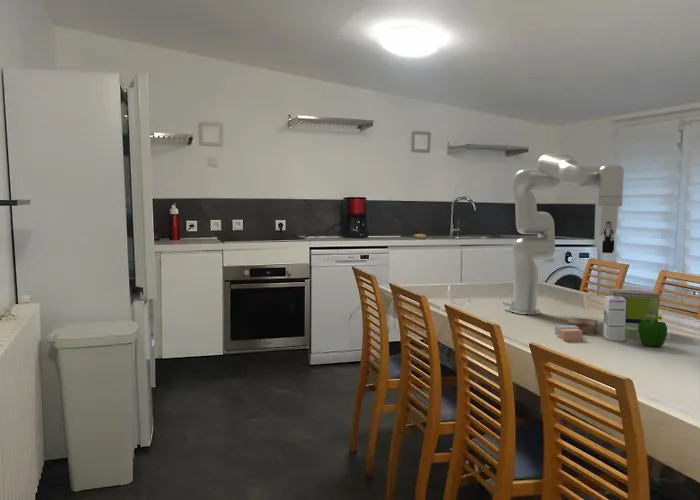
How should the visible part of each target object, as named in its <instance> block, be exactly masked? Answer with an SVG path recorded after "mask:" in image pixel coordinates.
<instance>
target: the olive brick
mask: <svg viewBox="0 0 700 500" xmlns="http://www.w3.org/2000/svg"><path fill="white" fill-rule="evenodd" d="M625 339H628V340H639V331H638V329H636V328H634V327H631V326H629V325H625Z"/></svg>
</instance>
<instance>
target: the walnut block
mask: <svg viewBox="0 0 700 500" xmlns="http://www.w3.org/2000/svg"><path fill="white" fill-rule="evenodd" d="M566 325H575V326H577V327H579V330H582V331H583V333H582V335H589V334H591V336H594V335H595V334H596V332H597V331H598V320H597V319H590V318H589V319H588V318H582V317H581V318H580V317H570V318H569V319H568V320H567V324H566Z"/></svg>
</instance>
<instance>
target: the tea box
mask: <svg viewBox="0 0 700 500" xmlns="http://www.w3.org/2000/svg"><path fill="white" fill-rule="evenodd" d="M609 296H620V297H623V298H625V299H626V320H625V325H629V326H631V327H634V328H636V329H638V325H639V323H640V321H642V320H647V321H651V320H652V319H653V317H656V316H659V310H660V309H659V303H660V300H659V299H660V294H659V293H657V292H656V291H655V290H651V289H649V290H647V289H629V288H627V289H626V288H610V291H609ZM655 322H659V319H656V320H655Z"/></svg>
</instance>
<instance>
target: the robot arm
mask: <svg viewBox="0 0 700 500" xmlns="http://www.w3.org/2000/svg"><path fill="white" fill-rule="evenodd" d="M536 164H537V168H524V169H521V170H519V171H517V172H516V173H515V175H514V176H513V178H512V179H513V180H512V191H513V192H512V193H513V197H514V202H515V205H514V206H515V227H516V231H517V232H518V233H519V234H521V235H537V237H534V236H533V237H532V236H531V237H530V236H529V237H520V238H518V239H516V240H515V241H514V243H513V245H512V255H513V261H514V268H513V269H514V271H513V273H514V276H513V297H512V300H510V301H508V300H503V301H502V305H503V306H505V307H509V308H508V311H509V312H510V311H511V312H510V313H512V312H514V313H513V314H517V313H518V314H517V315H525V314H528V316H530V315H539V314H541V310H540V309H539V308H537V305H538V304H537V303H538V278H539V277H538V276H539V271H538V270H539V269H538V266H537V265H536V263H535V261H546V260H550V259H551V258H553V256H554V255H555V251H556V249H555V248H556V241H555V240H556V237H555V235H556V234H555V231H556V229H555V221H554V218H553V215H551V213H549V212H546V211H538V207H537V206H538V205H537V202H538V201H537V199H536V197H535V195H534V192H532V190H536V191H539V190H541V191H549V190H551V191H552V190H554V189H556V188H557V187H558V186H559V185H561V184H562V183H563V184H566V185H568V186H572V187H575V188H587V189H588V188H589V189H598V194H597V196H598V198H597V199H598V201H597V206H598V207H601V208H600V215H599V217H600V219H599V235H600V236H602V235H603V240H602V248H601V249H602V251H601V252H602V254H613V253H614V251H615V239H614V238H615V235H616V233H617V229H618V218H619V207H623V199H624V198H623V195H624V177H625V176H624V174H625V173H624V172H625V170H624V167H623V166H622V165H619V164H618V165H617V164H610V165H609V164H608V165H607V164H605V165H602V166H599V165H598V166H597V165H593V166H592V165H580V164H578V161H577V160H576V159H575V158H574V157H573V155H571V154H567V153H554V152H552V153H551V152H549V153H545V154H543V155H541V156H540V157H539V159H538V160H537V163H536Z"/></svg>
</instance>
